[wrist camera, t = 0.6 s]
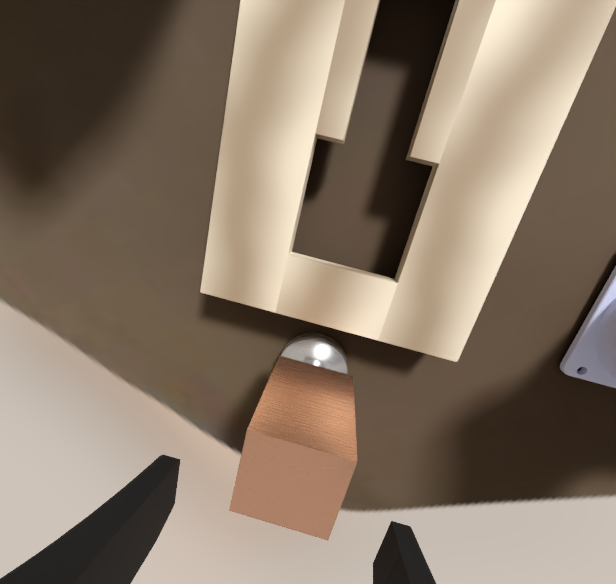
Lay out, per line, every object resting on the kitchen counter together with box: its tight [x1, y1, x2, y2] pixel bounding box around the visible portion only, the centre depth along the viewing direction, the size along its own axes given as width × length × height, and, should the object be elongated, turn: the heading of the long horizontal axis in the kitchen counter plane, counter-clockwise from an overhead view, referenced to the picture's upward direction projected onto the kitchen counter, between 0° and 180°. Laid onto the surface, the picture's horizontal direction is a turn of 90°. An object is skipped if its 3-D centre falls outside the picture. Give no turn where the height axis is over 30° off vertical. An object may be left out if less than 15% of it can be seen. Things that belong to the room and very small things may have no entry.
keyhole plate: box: [200, 0, 616, 362], centre depth 14 cm, size 14×20×3 cm
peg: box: [229, 332, 357, 540], centre depth 15 cm, size 4×4×9 cm
